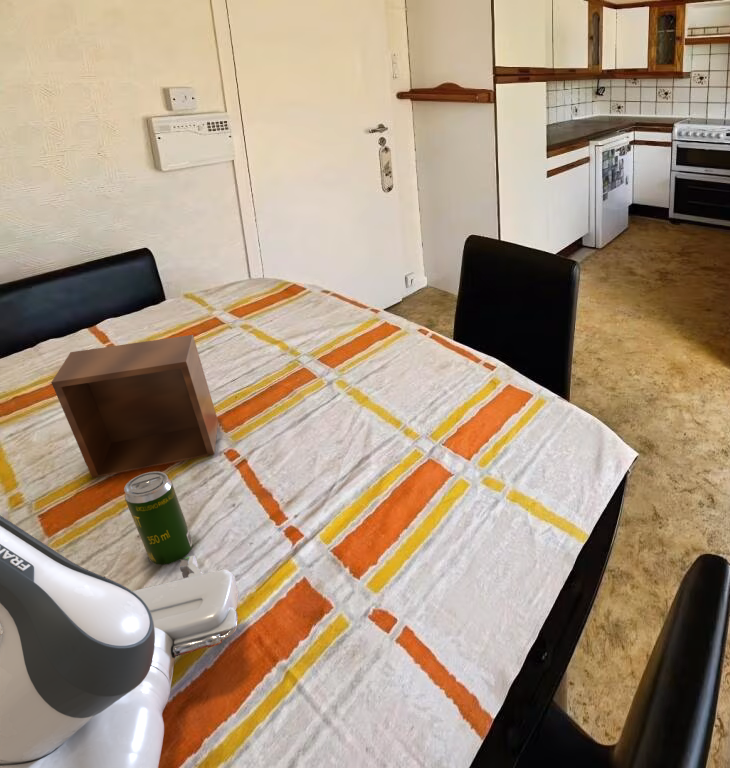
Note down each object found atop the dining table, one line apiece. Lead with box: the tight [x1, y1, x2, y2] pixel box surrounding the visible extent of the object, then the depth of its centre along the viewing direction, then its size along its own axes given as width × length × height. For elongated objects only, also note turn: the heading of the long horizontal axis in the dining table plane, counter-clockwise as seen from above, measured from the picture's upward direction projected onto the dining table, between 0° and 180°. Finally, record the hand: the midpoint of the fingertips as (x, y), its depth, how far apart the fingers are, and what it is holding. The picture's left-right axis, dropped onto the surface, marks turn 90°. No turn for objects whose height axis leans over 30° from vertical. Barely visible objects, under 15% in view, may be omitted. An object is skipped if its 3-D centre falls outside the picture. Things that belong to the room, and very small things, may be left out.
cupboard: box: [50, 334, 219, 479], centre depth 102 cm, size 18×11×18 cm, turn 109°
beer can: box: [123, 471, 194, 566], centre depth 81 cm, size 5×5×12 cm
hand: (145, 571), depth 72 cm, fingers open, 8 cm apart
